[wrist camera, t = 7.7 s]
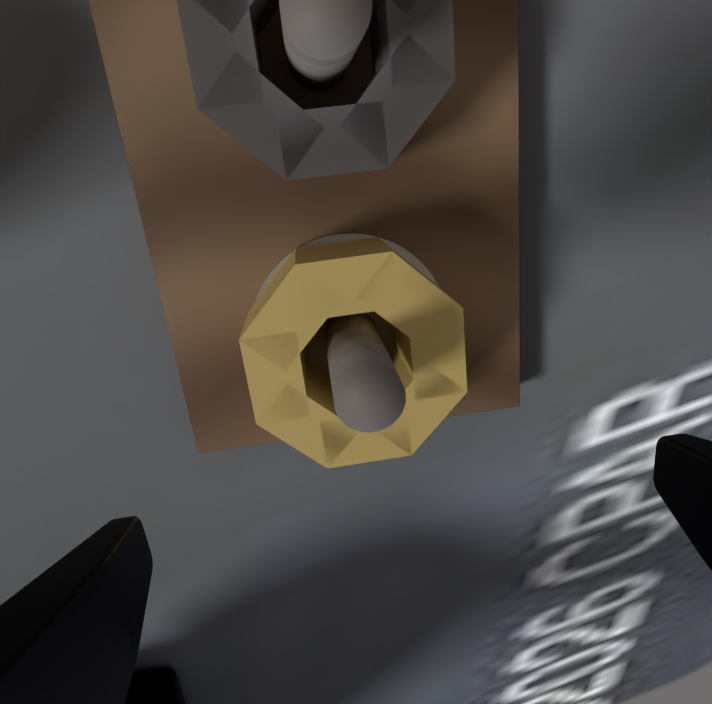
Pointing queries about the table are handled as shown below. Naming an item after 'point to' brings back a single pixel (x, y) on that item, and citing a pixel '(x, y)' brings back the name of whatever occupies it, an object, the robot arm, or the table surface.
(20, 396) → the table surface
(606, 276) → the table surface
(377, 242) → the tan ring
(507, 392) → the gear board
